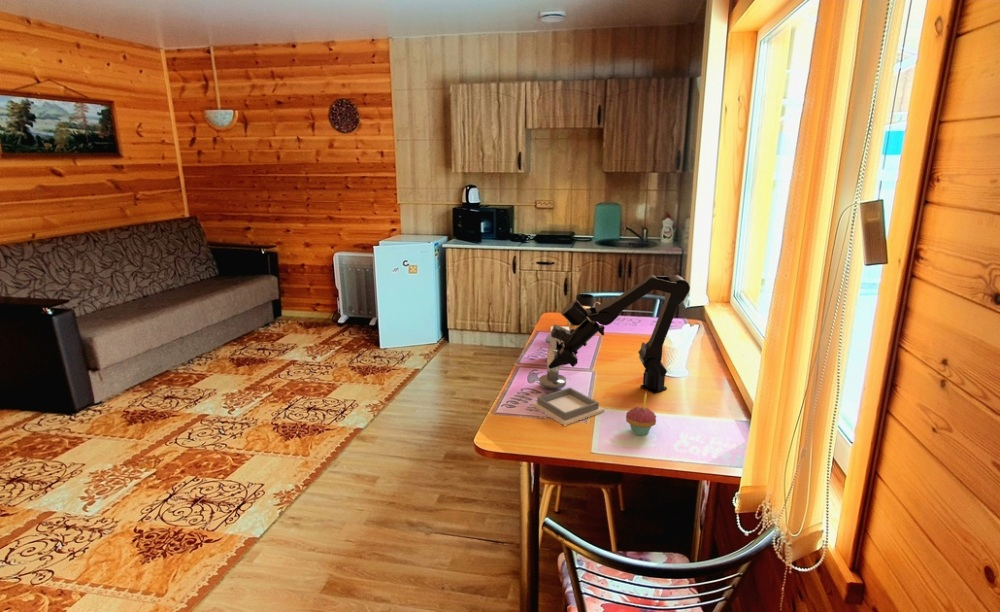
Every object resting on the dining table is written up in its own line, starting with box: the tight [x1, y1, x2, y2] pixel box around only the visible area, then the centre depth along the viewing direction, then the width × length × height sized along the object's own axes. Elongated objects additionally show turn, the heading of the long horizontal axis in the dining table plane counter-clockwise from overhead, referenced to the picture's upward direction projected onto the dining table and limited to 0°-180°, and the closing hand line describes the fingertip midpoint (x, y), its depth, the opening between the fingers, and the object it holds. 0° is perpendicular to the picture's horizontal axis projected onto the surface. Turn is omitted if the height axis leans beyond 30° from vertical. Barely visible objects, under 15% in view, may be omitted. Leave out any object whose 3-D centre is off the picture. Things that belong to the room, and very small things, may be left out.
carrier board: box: [531, 387, 605, 427], centre depth 173 cm, size 16×16×3 cm
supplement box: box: [549, 325, 569, 349], centre depth 211 cm, size 7×7×13 cm
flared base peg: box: [539, 348, 567, 390], centre depth 187 cm, size 9×9×12 cm
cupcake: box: [625, 391, 657, 436], centre depth 158 cm, size 9×8×12 cm
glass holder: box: [575, 293, 601, 308], centre depth 245 cm, size 9×14×15 cm, turn 40°
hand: (548, 365), depth 187 cm, fingers closed on flared base peg, 4 cm apart
